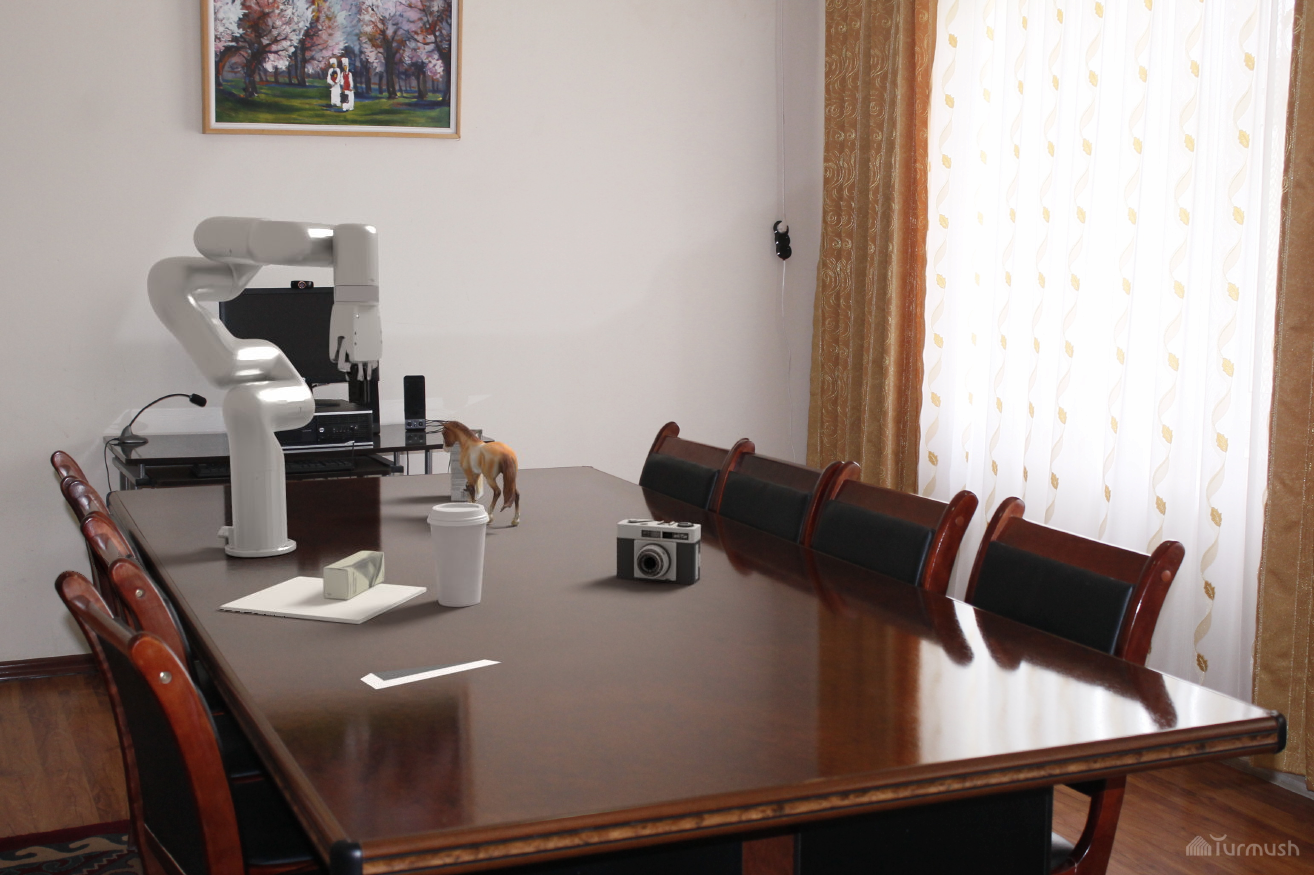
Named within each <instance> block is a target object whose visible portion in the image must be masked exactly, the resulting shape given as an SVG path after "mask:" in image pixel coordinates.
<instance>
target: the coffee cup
mask: <svg viewBox="0 0 1314 875" xmlns="http://www.w3.org/2000/svg"><path fill="white" fill-rule="evenodd" d="M488 521H489V516H488V511H486V510H485V507H484V505H482V504H480V503H476V502H475V503H472V502H471V503H468V502H448V503H440V504H437V505H436V504H435V505H434V506H432V508H431V512H430V513H429V514H428V517H427V519H426V522H427V524H429V525H430V533H431V542H432V552H433V559H434V560H433V561H434V569H435V571H434V572H435V581H436V591H437V600H438V604H439V605H441V606H444V607H449V608H450V607H451V608H452V607H453V608H462V607H469V606H475V605H477V604H479V603H480V602H481V599H482V598H481V597H482V587H483V573H484V572H483V570H484V558H485V557H484V556H485V544H486V534H487V532H486V531H487V522H488Z"/></svg>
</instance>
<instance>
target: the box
mask: <svg viewBox="0 0 1314 875" xmlns="http://www.w3.org/2000/svg"><path fill="white" fill-rule="evenodd" d="M322 572H323V574H322V578H323V590H324V598H325V599H335V600H349V599H351V598H352V597H354V596H356V595H358V594H360V593H362V592H364V591H366V590H368V589H369V588H371V587H373V586H375V585H377V584H379V583H380V584H382V583H383V582H384V581H385V552H383V551H374V550H360V551H358V552H356V553H353V554H352V555H349V556H347V557H345V558H342V559H340V560H338V561H335V562H334V563H331V564H329V565H327V566H324V567H323V571H322Z"/></svg>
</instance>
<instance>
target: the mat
mask: <svg viewBox="0 0 1314 875" xmlns="http://www.w3.org/2000/svg"><path fill="white" fill-rule="evenodd" d="M426 592H427V587H423V586H413V585H401V584H391V583H390V584H389V583H379V584H377V585H375V586H373V587H371V588H369V589H368V590H366V591H364V592H362V593H360V594H358V595H356V596H354V597H352V598H351V599H349V600H335V599H325V598H324V590H323V577H322V578H321V577H310V576H309V577H308V576H298V575H297V577H294V578H290V579H288V580H285V581H283V582H280V583H278V584H275V585H272V586H269V587H267V588H265V589H262V590H260V591H257V592H254V593H252V594H249V595H246V596H243V597H240V598H238V599H236V600H233V601H230V602H227V603H225V604H222V605H220V606H219V610H220V609H224V610H223V611H225V610H232V611H231V612H235V611H240V612H239V613H244V612H252V613H251V614H254V613H258V614H257V615H264V614H266V616H274V615H275V616H276V617H284V616H285V617H287V618H294V619H295V618H297V619H306V620H316V621H325V622H335V623H342V624H343V623H346V624H355V625H360V624H362V623H364V622H366V621H369V620H370V619H372V618H375V617H376V616H379V615H380V614H383V613H384V612H387V611H389V610H391V609H393V608H395V607H397V606H399V605H402V604H404V603H405V602H407V601H409V600H412V599H414V598H417V596H420V595H422V594H424V593H426Z"/></svg>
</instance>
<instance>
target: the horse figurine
mask: <svg viewBox="0 0 1314 875" xmlns="http://www.w3.org/2000/svg"><path fill="white" fill-rule="evenodd" d="M439 424H440V425H441V426H442V427H443V428H442V431H441V435H442V437H443V446H442V450H443V451H444V452H445V453H448V454H450V452H451V448H452V447H453V445H454V444H455V442H456V441H458V442H459V445H460V448H461V452H460V457H459V463H460V466H461V468H462V469H463V471H464V475H465V477H466V479H467V481H468V483H469V496H468V501H467V503H475V504H476V501H475V493H476V490H475V485H476V483H477V481H478V479H479V477H480V475H481V474H483V478H484V479H485V480H486V484H487V485H488V487H489V488H490V489H492V491H493V496H492V501H491V502H490V505H489V507H488V509H487V514H488V516H489V521H488V522H486V524H492V522H493V521H494V517H493V512H494V510H495V507H496V505H497V501H498V500H499V499H500V497H501V494H502V495H503V504H502V507H501V508H500V511H499V513H503V511H504V510H505V509H507V508H510V509H511V507H512V506H513V504H514V516H513V518H512V521H511V522H510V524H511V525H512V526H513V525H514V526H515V525H516V526H518V525H519V524H520V516H521V513H520V507H519V506H520V504H519V503H520V494H521V493H520V492H519V490H518V488H517V481H516V479H517V475H518V471H519V468H518V467H519V466H518V458H517V454H516V452H515V451H514V450H513V449H512V448H511V447H510V446H509V445H507V444H506V443H504V442H501V441H492V442H491V441H490V442H487V443H486V442H484V441H483V439H482V440H480V439H479V438H478V437H477V436H476V435H475V434H474V433H473V432H472V431H471V430H470V428H469V427H468V426H466V425H465V424H464V423H462V422H460V421H458V420H451V421H448V422H447V421H444V422H443V421H439ZM500 474H502V483H503V484H502V486H503V487H502V490H501V488H500V487H499V486H498V484H497V477H498V476H499V475H500Z"/></svg>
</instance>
